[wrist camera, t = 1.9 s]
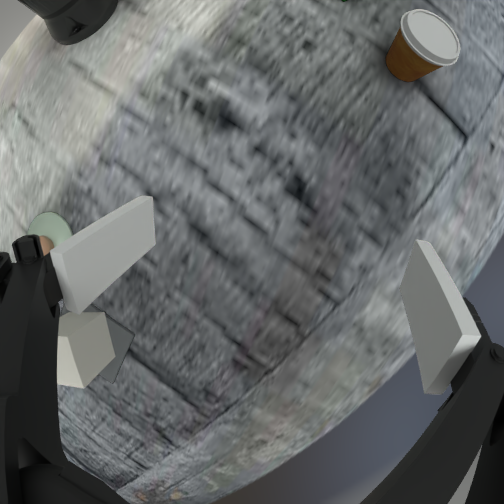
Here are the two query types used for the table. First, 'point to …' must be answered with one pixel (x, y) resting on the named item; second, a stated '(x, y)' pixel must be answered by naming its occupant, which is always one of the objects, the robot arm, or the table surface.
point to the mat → (119, 341)
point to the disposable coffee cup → (422, 46)
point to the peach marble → (46, 244)
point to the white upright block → (82, 348)
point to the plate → (51, 227)
